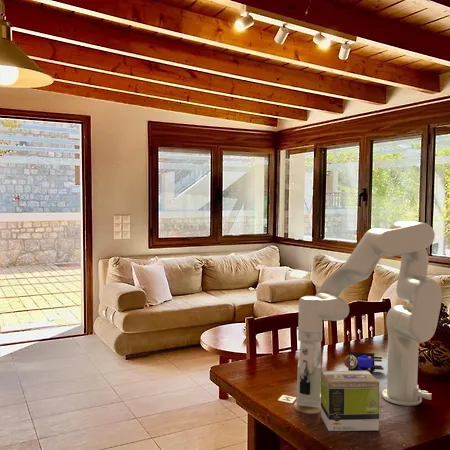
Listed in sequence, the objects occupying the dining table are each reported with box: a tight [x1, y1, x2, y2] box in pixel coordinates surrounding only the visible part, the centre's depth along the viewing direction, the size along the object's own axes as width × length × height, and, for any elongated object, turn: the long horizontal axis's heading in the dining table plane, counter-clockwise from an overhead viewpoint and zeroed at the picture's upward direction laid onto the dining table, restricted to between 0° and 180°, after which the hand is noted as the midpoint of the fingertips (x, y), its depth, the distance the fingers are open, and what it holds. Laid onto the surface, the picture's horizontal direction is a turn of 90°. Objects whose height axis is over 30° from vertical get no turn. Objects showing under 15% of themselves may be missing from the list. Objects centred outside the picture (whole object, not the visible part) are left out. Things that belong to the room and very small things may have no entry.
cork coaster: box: [293, 401, 321, 415], centre depth 154 cm, size 9×9×1 cm
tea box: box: [320, 370, 380, 432], centre depth 142 cm, size 15×10×15 cm, turn 92°
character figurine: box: [343, 351, 385, 372], centre depth 188 cm, size 8×7×15 cm
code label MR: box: [277, 394, 297, 404], centre depth 160 cm, size 5×5×1 cm
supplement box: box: [296, 359, 322, 407], centre depth 153 cm, size 7×7×13 cm
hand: (309, 388), depth 153 cm, fingers closed on supplement box, 8 cm apart
